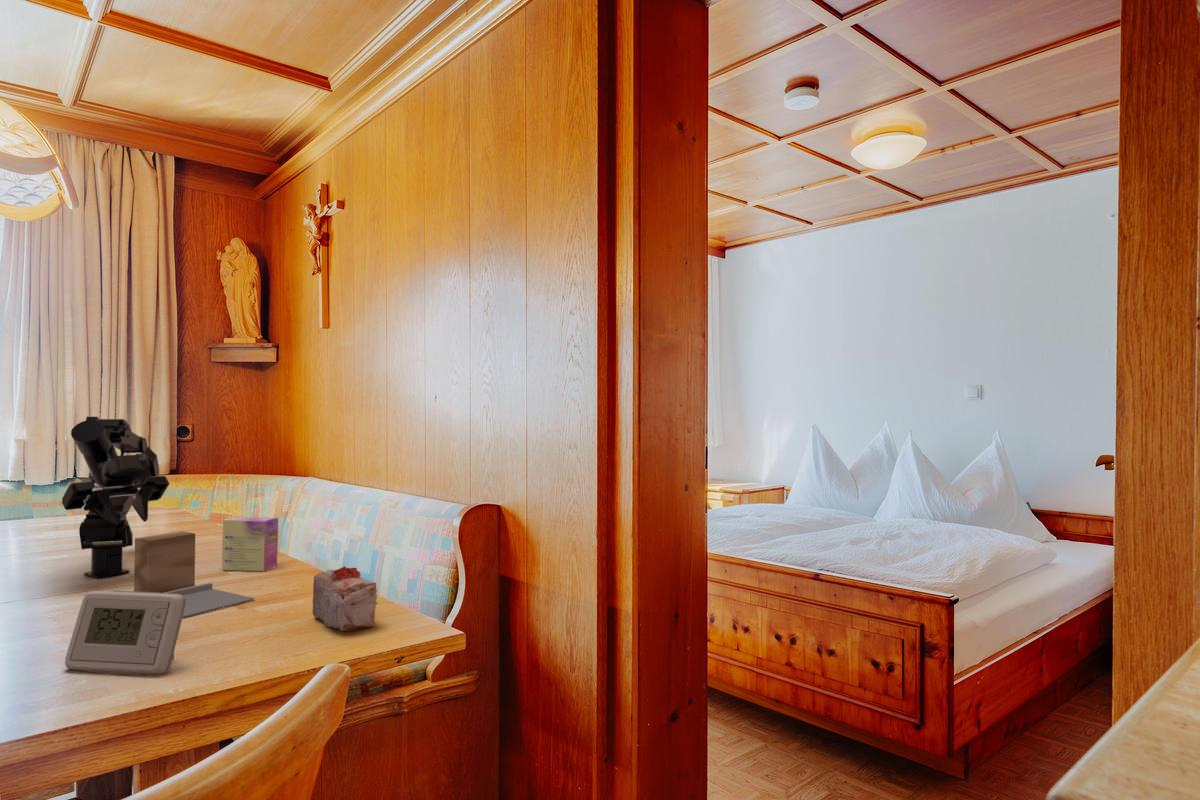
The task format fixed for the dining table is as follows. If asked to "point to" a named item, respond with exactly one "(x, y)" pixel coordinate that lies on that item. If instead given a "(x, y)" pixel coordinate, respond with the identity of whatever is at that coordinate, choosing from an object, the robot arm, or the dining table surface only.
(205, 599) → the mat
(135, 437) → the robot arm
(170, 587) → the walnut block
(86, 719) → the dining table surface
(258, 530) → the box
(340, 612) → the food item
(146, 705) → the dining table surface
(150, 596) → the digital clock
